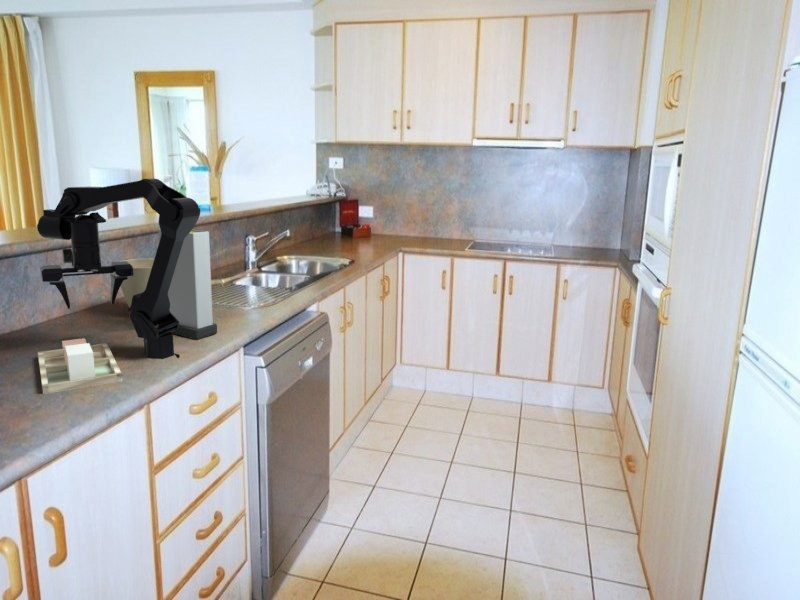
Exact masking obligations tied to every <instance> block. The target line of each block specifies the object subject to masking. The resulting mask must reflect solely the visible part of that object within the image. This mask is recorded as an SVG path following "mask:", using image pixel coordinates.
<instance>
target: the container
mask: <svg viewBox="0 0 800 600" xmlns="http://www.w3.org/2000/svg"><path fill="white" fill-rule="evenodd" d="M160 237H161V230H160V228H158V242H159V241H160ZM210 247H211V246H210V232H209V231H207V230H201V229H200V230H199V229H198V230H197V229H194V228H193V229H192V230H191V232H190V233H189V234H188V235H187V236H186V237H185V239H184V241H183V245H182V248H181V251H180V254H179V258H178V261H177V264H176V268H175V271H174V274H173V277H172V281H171V284H170V287H169V291H168V298H169V301H170V310H169V311H170V312H171V313H172V314H173V316H174V317H175V318H176V319H177V320H178V321H179V326H178V329H177V330H174V331H172V332H171V333H172V334H173V335H178V336H181V337H186V338H190V339H193V340H200V339H203V338H207V337H209V336H214V335H216V334H217V333H218V324H217V323H215V322H214V321H213V299H212V298H213V296H212V273H211V252H210V251H211V248H210ZM213 322H214V323H213Z"/></svg>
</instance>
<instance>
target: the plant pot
mask: <svg viewBox="0 0 800 600" xmlns="http://www.w3.org/2000/svg"><path fill="white" fill-rule="evenodd" d="M120 261H121V260H120ZM120 261H119V260H118V262H120ZM123 261H127V262H128V263H129V264H131V265H132V266H133V276H127V277H128V279H127V280H123V282H122V284H121V286H120V288H121V292H122V294H123V297H124V298H125V302H126V304H127V306H128V309H129V308H130V307H131V303H132V298H133V295H136V294H139V293H142V292H144V291H145V289H146V286H147V282H148V279H149V275H150V272H151V268H152V265H153V262H154V258H132V259H124V260H123Z"/></svg>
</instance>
